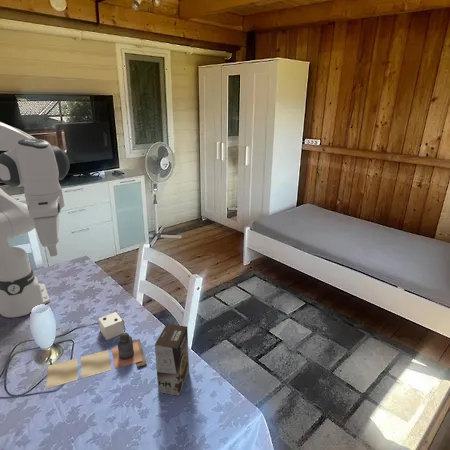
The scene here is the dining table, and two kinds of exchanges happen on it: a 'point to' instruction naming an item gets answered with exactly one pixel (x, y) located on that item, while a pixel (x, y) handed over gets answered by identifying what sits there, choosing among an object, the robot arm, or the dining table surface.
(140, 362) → the game board
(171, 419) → the dining table surface
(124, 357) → the pawn
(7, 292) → the robot arm
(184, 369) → the coffee box
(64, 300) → the dining table surface
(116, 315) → the die
